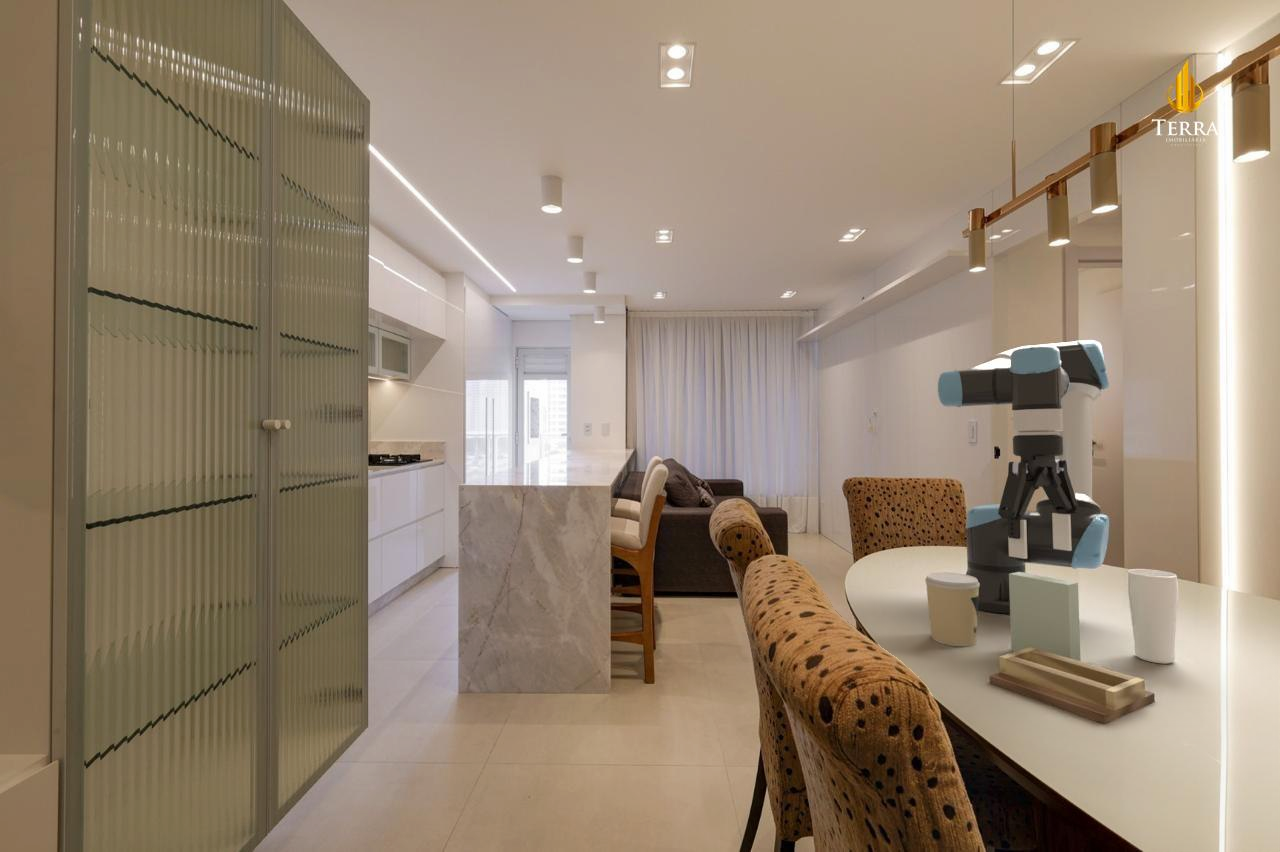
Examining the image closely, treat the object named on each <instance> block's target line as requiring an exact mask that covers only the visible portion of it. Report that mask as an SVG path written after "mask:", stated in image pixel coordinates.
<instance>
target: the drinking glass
mask: <svg viewBox="0 0 1280 852" xmlns="http://www.w3.org/2000/svg"><path fill="white" fill-rule="evenodd" d="M1126 580H1127V581H1126V586H1127V598H1128V607H1129V612H1130V620H1131V625H1132V626H1131V627H1132V633H1133V634H1132V636H1133V641H1134V642H1133V643H1134V645H1133V646H1134V654H1135V656H1136V657H1137V658H1139V659H1141V660H1144V661H1146V662H1150V663H1154V664H1166V665H1167V664H1172V663H1173V662H1175V660H1176V636H1177V635H1176V633H1177V622H1178V621H1177V619H1178V606H1179V585H1178V584H1179V583H1178V576H1177V574H1176V573H1173V572H1169V571H1164V570H1159V569H1149V568H1148V569H1147V568H1131V569H1128V570H1127V575H1126Z"/></svg>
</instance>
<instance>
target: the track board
mask: <svg viewBox="0 0 1280 852" xmlns="http://www.w3.org/2000/svg"><path fill="white" fill-rule="evenodd" d="M1145 682H1146V681H1145V679H1143V678H1140V677H1136V676H1132V675H1129V674H1126V673H1122V672H1118V671H1114V670H1112V669H1108V668H1104V667H1100V666H1097V665H1094V664H1090V663H1089V662H1088V663H1087V662H1083V661H1077V660H1074V659H1070V658H1067V657H1063V656H1060V655H1056V654H1053V653H1049V652H1046V651H1042V650H1039V649H1035V648H1032V647H1029V648H1026V649H1023V650H1019V651H1016V652H1015V651H1012V652H1010V653H1006V654H1004V655H1000V656H999V672H996V673H993V674H990V675H989V684H992V685H995V686H997V687H1000V688H1003V689H1005V690H1008V691H1012V692H1014V693H1015V694H1019V695H1022V696H1025V697H1028V698H1030V699H1034V700H1037V701H1038V702H1042V703H1045V704H1048V705H1051V706H1053V707H1056V708H1059V709H1061V710H1065V711H1067V712H1070V713H1074V714H1076V715H1078V716H1081V717H1084V718H1087V719H1090V720H1093V721H1095V722H1098V723H1101V724H1104V725H1105V724H1108V723H1110V722H1113V721H1114V720H1116V719H1119V718H1121V717H1123V716H1126V715H1128V714H1130V713H1132V712H1134V711H1136V710H1138V709H1141V708H1144V707H1146V706H1147V705H1149V704H1152V703H1154V702H1155V692H1152V691H1148V690H1146V683H1145Z"/></svg>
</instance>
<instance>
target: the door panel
mask: <svg viewBox="0 0 1280 852" xmlns="http://www.w3.org/2000/svg"><path fill="white" fill-rule="evenodd" d="M1009 593H1010V614H1009V616H1010V617H1009V619H1010V620H1009V622H1010V624H1009V625H1010V648H1011V649H1010V650H1011V652H1016V651H1019V650H1023V649H1026V648H1029V647H1032V648H1035V649H1039V650H1042V651H1046V652H1049V653H1053V654H1056V655H1060V656H1063V657H1067V658H1070V659H1074V660H1077V661H1081V635H1080V631H1081V630H1080V629H1081V628H1080V609H1079V608H1080V606H1079V605H1080V603H1079V602H1080V601H1079V582H1077V581H1071V580H1066V579H1061V578H1060V579H1059V578H1054V577H1048V576H1043V575H1038V574H1032V573H1027V572H1026V573H1022V572H1015V573H1010V574H1009ZM1081 662H1082V661H1081Z"/></svg>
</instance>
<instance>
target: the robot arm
mask: <svg viewBox="0 0 1280 852" xmlns="http://www.w3.org/2000/svg"><path fill="white" fill-rule="evenodd" d="M1108 379H1109V378H1108V373H1107V368H1106V362H1105V357H1104V352H1103V346H1102V344H1101V342H1099V341H1097V340H1093V339H1088V340H1086V339H1085V340H1079V339H1077V340H1075V341H1067V342H1066V341H1065V342H1055V343H1044V344H1033V345H1022V346H1017V347H1015V348H1011V349H1008V350H1005V351H1003V352H999V353H996V354H994V355H991V356H990V357H988V358H986V359H985V360H984V361H983V363H981V364H979V365H976V366H973V367H971V368H966V369H954V370H948V371H943V372H942V373H941V374H940V375H939V377H938V380H937V394H938V395H937V396H938V399H939V402H940V404H941V405H942V406H944V407H957V408H961V407H972V406H973V407H975V406H991V405H992V406H993V405H997V406H998V405H1012V406H1011V411H1012V416H1011V421H1012V432H1013V433H1016V435H1014V436H1013V437H1012V454H1013V455H1014V456H1017V457H1020V461H1009V462H1008V469H1007V471H1008V473H1007V477H1006V481H1005V485H1004V488H1003V493H1002V496H1001V499H1000V503H997V504H986V505H979V506H974V507H973V506H972V507H971V508H969V509H968V510H967V512H966V519H965V520H966V521H965V533H966V558H967V559H966V563H967V565H966V567H967V570H966V572H965V575H969V576H972V577H975V578H976V579H977V580H978V582H979V584H980V586H979V594H978V611H979V610H980V611H984V612H988V613H996V614H1009V615H1010V593H1009V574H1010V573H1015V572H1022V573H1027V572H1026V564H1037V565H1042V566H1043V565H1044V566H1045V565H1046V566H1053V567H1054V566H1055V567H1062V568H1063V567H1064V568H1072V569H1075V570H1076V569H1087V570H1088V569H1089V570H1093V569H1099V568H1100V567H1101V566H1102V565H1103V563H1104V560H1105V558H1106V554H1107V553H1106V552H1107V549H1108V542H1109V536H1110V535H1109V529H1110V518H1109V516H1108V515H1106V514H1104V513H1101V510H1102V509H1101V506H1100V505H1099V504H1098V503H1097V502H1095V501H1094V500H1093V411H1094V410H1093V408H1094V407H1093V403H1095V401H1098V399H1099V398H1101V396H1102V390H1103V391H1104V390H1106V389H1108V388H1109V387H1110V383H1109V380H1108ZM1040 488H1042V489H1043V491H1044V496H1043V497H1042V498H1040V499H1039V500H1037V501H1036V507H1035V509H1036V510H1027V509H1028V508H1029V505H1030V502H1031V500H1032V498H1033V496H1034V494H1035V492H1036V490H1038V489H1040Z"/></svg>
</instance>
